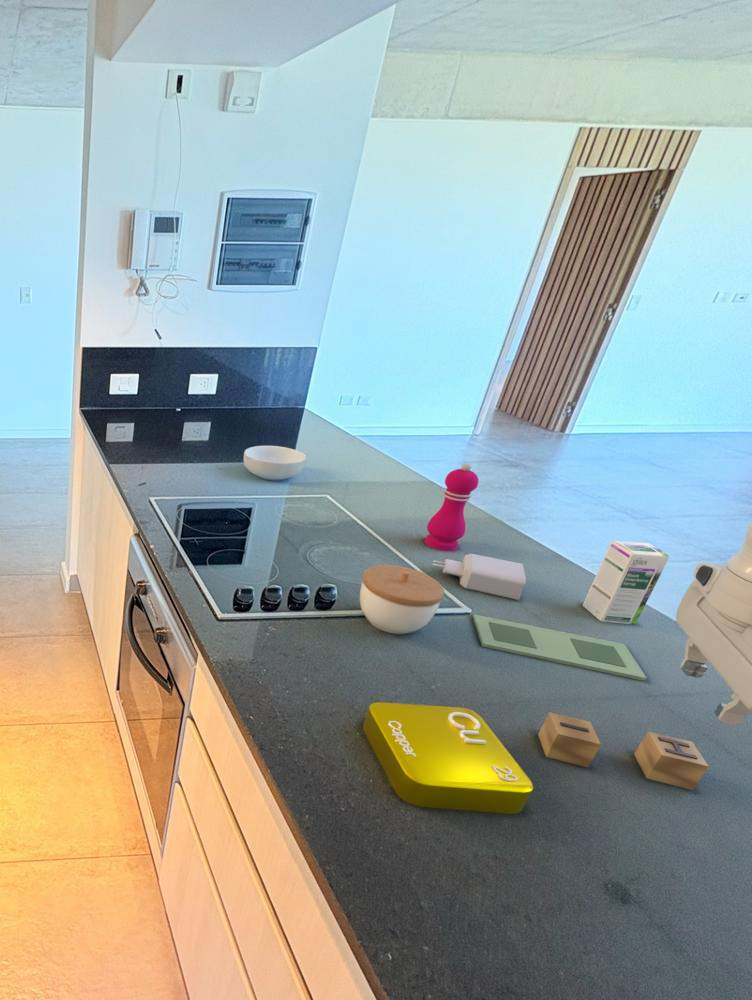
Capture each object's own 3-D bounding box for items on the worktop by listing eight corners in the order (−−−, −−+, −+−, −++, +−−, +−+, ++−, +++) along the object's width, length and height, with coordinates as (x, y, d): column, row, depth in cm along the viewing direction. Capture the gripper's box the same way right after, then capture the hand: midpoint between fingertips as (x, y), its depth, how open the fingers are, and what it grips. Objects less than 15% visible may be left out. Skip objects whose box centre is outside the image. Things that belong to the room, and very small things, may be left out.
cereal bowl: (297, 469, 186) (301, 446, 183) (306, 489, 172) (311, 465, 169) (239, 465, 190) (242, 443, 187) (242, 484, 175) (246, 460, 172)
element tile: (357, 722, 90) (365, 697, 88) (465, 729, 89) (476, 704, 87) (401, 807, 77) (412, 780, 75) (529, 817, 76) (543, 790, 73)
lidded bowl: (445, 643, 108) (465, 589, 103) (376, 646, 107) (392, 592, 102) (402, 604, 119) (417, 554, 114) (339, 606, 118) (352, 556, 113)
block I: (576, 746, 86) (590, 720, 84) (587, 769, 82) (601, 743, 80) (536, 736, 88) (549, 710, 86) (545, 758, 84) (558, 732, 82)
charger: (430, 563, 133) (514, 582, 126) (429, 582, 126) (518, 602, 119) (436, 544, 131) (522, 561, 124) (435, 562, 124) (526, 581, 117)
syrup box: (600, 623, 113) (634, 553, 106) (580, 606, 118) (612, 538, 111) (635, 626, 112) (672, 556, 105) (613, 608, 117) (647, 541, 111)
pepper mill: (427, 536, 145) (453, 455, 136) (462, 546, 141) (491, 463, 132) (417, 546, 141) (443, 463, 132) (453, 556, 136) (483, 471, 127)
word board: (622, 648, 106) (624, 643, 106) (644, 683, 98) (647, 677, 97) (472, 618, 114) (474, 613, 114) (481, 648, 106) (483, 642, 106)
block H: (676, 767, 83) (693, 740, 81) (691, 792, 79) (709, 765, 77) (632, 756, 84) (648, 730, 82) (645, 780, 81) (662, 753, 79)
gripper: (869, 660, 60) (789, 763, 66) (758, 567, 77) (702, 656, 83) (781, 643, 62) (712, 744, 69) (691, 557, 79) (642, 644, 85)
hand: (706, 695), depth 76 cm, fingers open, 8 cm apart
